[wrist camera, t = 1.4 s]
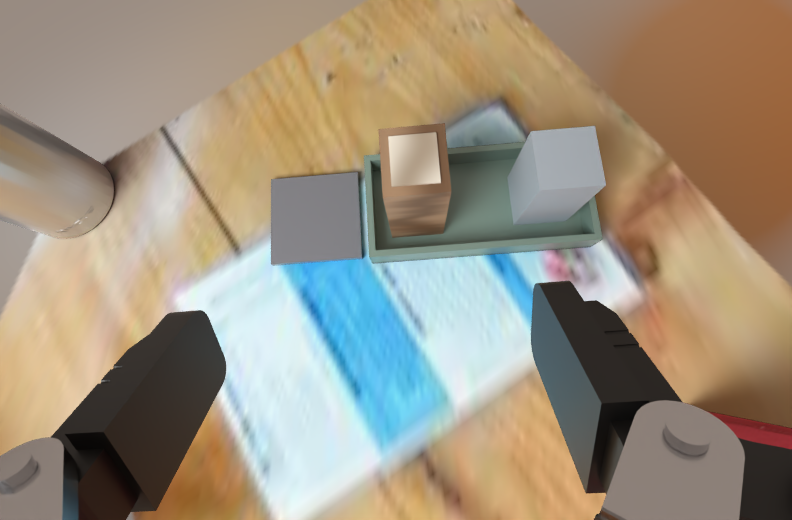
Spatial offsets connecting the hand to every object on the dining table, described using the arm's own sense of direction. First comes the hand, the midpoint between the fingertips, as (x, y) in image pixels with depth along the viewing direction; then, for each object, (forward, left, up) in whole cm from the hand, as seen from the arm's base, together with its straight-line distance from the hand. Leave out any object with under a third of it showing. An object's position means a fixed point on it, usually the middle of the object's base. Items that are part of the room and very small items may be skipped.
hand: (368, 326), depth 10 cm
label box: (-10, +9, -29) cm, 32 cm away
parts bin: (-6, +14, -30) cm, 33 cm away
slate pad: (-16, +1, -30) cm, 33 cm away
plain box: (-3, +19, -29) cm, 35 cm away
